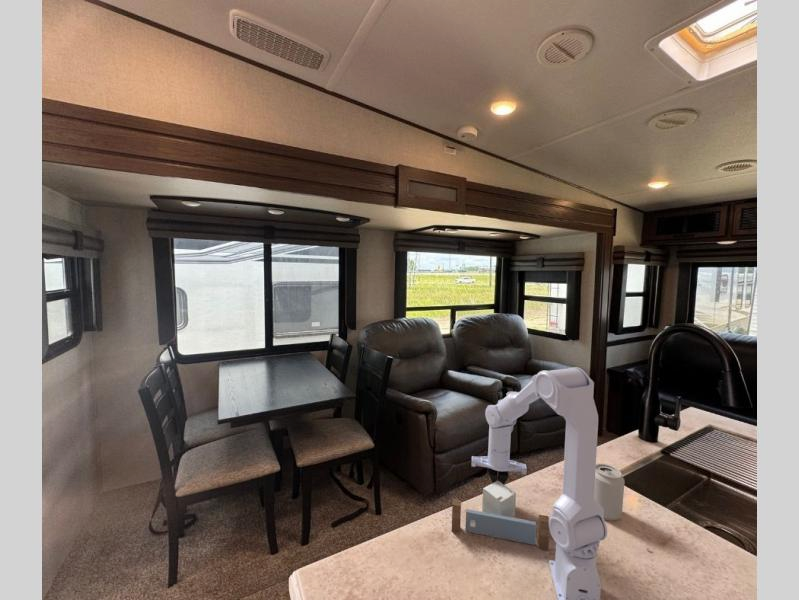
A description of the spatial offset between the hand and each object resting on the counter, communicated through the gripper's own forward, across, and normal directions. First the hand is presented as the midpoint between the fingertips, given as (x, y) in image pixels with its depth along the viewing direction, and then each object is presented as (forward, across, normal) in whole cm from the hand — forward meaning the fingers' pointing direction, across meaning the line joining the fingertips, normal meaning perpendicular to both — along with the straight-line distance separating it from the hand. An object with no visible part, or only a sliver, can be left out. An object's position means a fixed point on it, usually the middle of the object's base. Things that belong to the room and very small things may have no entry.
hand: (497, 493), depth 90 cm
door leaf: (+2, 0, +14) cm, 14 cm away
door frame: (+2, 0, +13) cm, 14 cm away
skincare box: (+2, 0, +6) cm, 7 cm away
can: (+2, -28, -3) cm, 28 cm away
